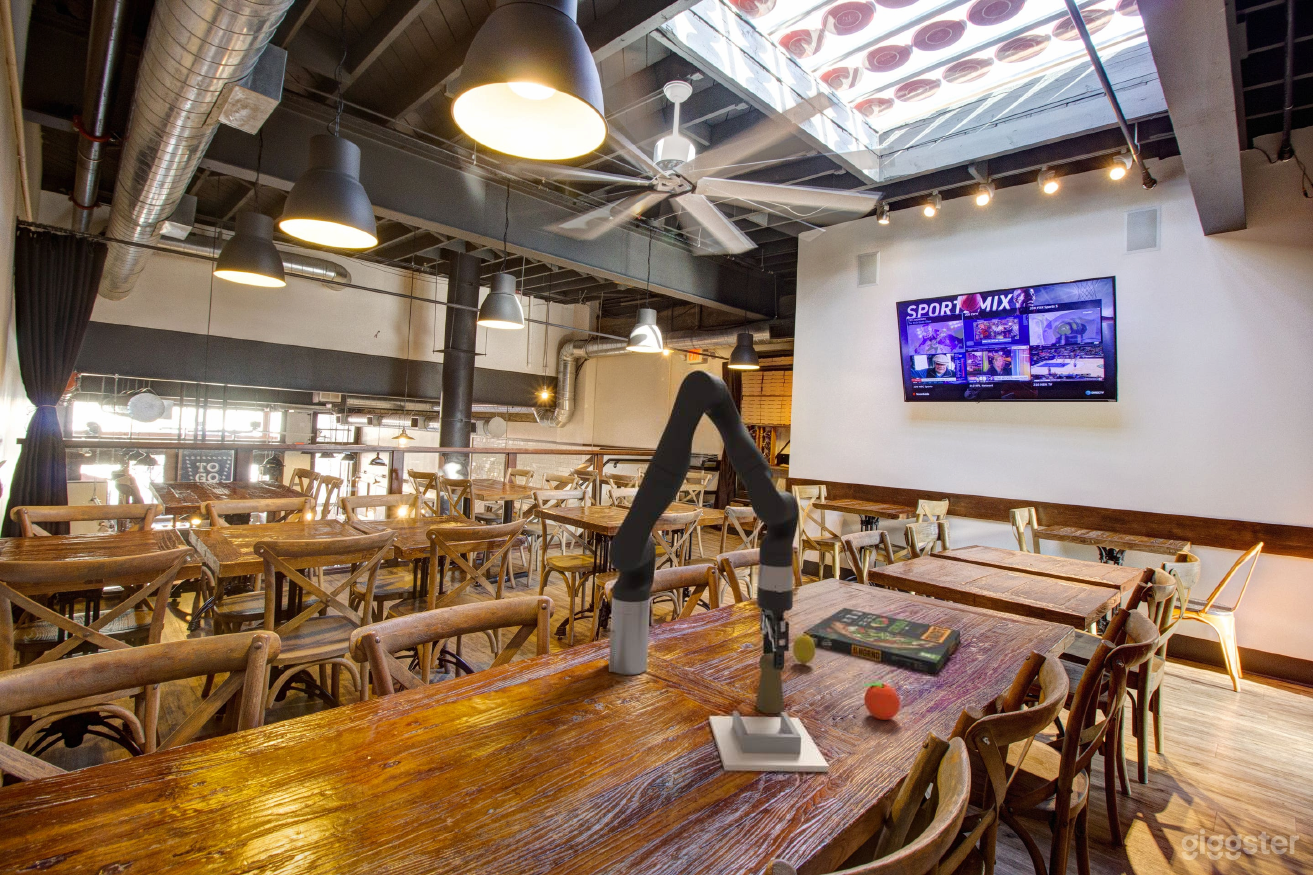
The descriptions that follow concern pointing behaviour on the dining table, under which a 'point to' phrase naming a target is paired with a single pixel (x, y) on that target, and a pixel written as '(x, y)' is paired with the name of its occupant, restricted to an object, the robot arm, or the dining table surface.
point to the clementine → (881, 701)
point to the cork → (769, 687)
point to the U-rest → (765, 744)
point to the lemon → (804, 649)
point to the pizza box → (886, 639)
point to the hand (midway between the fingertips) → (773, 661)
